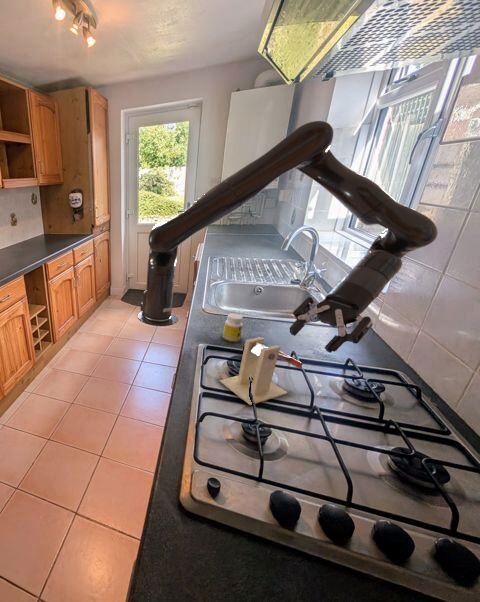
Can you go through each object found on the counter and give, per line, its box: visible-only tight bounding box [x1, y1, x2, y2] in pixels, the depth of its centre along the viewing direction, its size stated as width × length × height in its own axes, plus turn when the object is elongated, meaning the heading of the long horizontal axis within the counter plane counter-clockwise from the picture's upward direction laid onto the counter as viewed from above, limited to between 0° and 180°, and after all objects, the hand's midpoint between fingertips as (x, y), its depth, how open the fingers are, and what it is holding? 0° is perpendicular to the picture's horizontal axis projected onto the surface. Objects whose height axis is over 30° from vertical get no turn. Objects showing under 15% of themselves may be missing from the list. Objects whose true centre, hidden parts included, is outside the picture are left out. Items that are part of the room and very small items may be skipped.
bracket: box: [219, 336, 288, 406], centre depth 69 cm, size 11×9×13 cm
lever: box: [251, 343, 303, 369], centre depth 69 cm, size 13×6×2 cm, turn 109°
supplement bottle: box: [222, 313, 244, 343], centre depth 91 cm, size 5×5×8 cm
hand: (308, 341), depth 72 cm, fingers open, 8 cm apart
